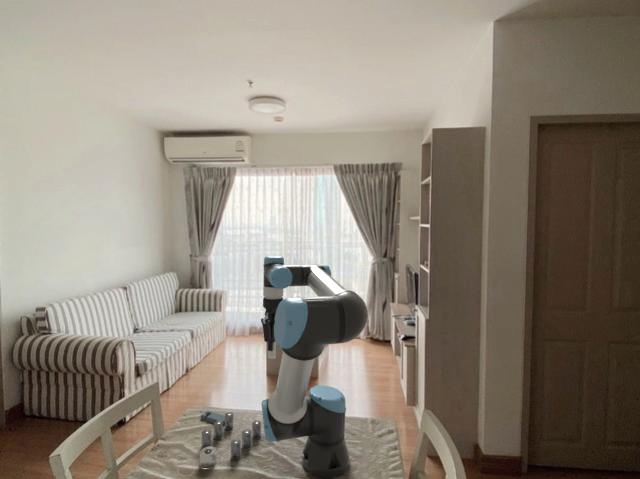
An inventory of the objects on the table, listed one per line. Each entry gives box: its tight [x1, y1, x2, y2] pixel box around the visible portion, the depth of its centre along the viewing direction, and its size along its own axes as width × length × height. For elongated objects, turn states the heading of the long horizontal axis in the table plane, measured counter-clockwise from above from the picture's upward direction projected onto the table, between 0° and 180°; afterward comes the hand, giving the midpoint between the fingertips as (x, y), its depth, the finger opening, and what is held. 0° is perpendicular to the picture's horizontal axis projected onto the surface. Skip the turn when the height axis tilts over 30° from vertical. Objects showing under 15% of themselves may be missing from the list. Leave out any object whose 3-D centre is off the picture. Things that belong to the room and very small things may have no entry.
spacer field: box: [201, 411, 262, 461], centre depth 121 cm, size 15×15×5 cm
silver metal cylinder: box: [199, 445, 217, 469], centre depth 110 cm, size 5×5×4 cm
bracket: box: [200, 410, 225, 426], centre depth 134 cm, size 4×10×2 cm, turn 66°
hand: (271, 358), depth 134 cm, fingers closed
